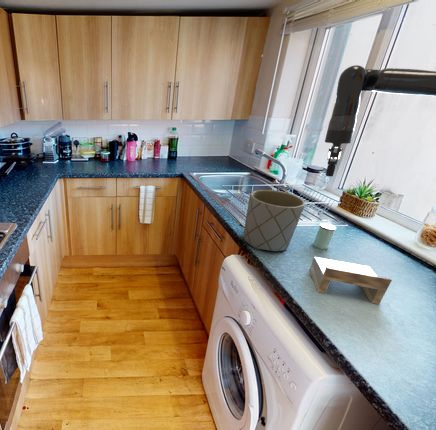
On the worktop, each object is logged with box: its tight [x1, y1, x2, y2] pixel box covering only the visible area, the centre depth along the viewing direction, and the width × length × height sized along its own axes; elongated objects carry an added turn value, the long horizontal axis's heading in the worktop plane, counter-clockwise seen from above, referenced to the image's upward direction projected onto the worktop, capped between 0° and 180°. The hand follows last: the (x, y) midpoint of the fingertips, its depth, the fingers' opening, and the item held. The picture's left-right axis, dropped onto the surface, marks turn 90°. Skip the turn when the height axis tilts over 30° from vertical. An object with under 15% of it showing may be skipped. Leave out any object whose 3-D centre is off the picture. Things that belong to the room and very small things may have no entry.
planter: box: [242, 189, 306, 252], centre depth 115 cm, size 19×19×20 cm
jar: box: [312, 222, 337, 250], centre depth 115 cm, size 6×6×9 cm
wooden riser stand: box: [308, 256, 393, 305], centre depth 92 cm, size 16×12×9 cm
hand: (329, 174), depth 106 cm, fingers open, 8 cm apart
